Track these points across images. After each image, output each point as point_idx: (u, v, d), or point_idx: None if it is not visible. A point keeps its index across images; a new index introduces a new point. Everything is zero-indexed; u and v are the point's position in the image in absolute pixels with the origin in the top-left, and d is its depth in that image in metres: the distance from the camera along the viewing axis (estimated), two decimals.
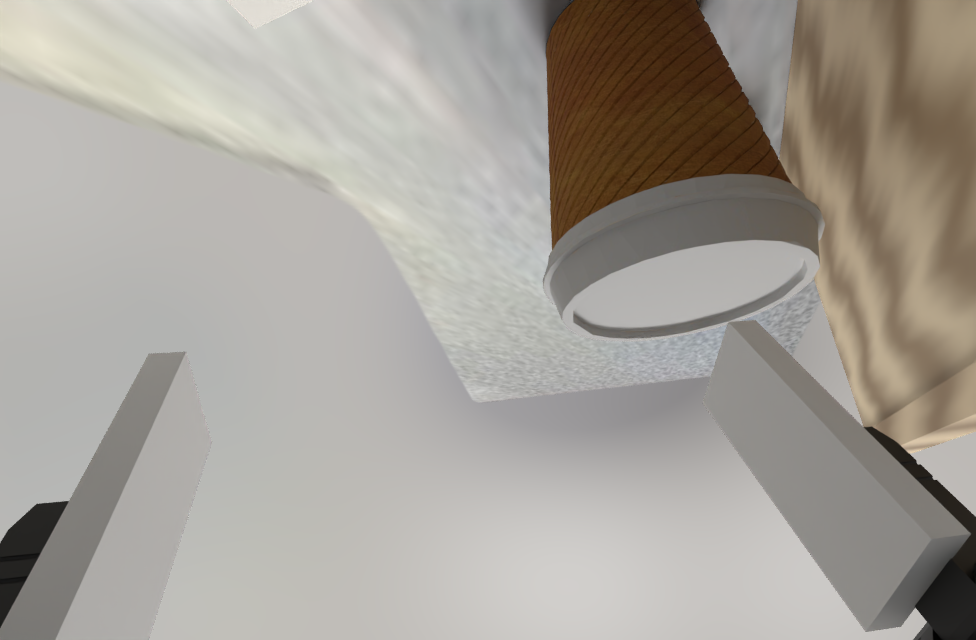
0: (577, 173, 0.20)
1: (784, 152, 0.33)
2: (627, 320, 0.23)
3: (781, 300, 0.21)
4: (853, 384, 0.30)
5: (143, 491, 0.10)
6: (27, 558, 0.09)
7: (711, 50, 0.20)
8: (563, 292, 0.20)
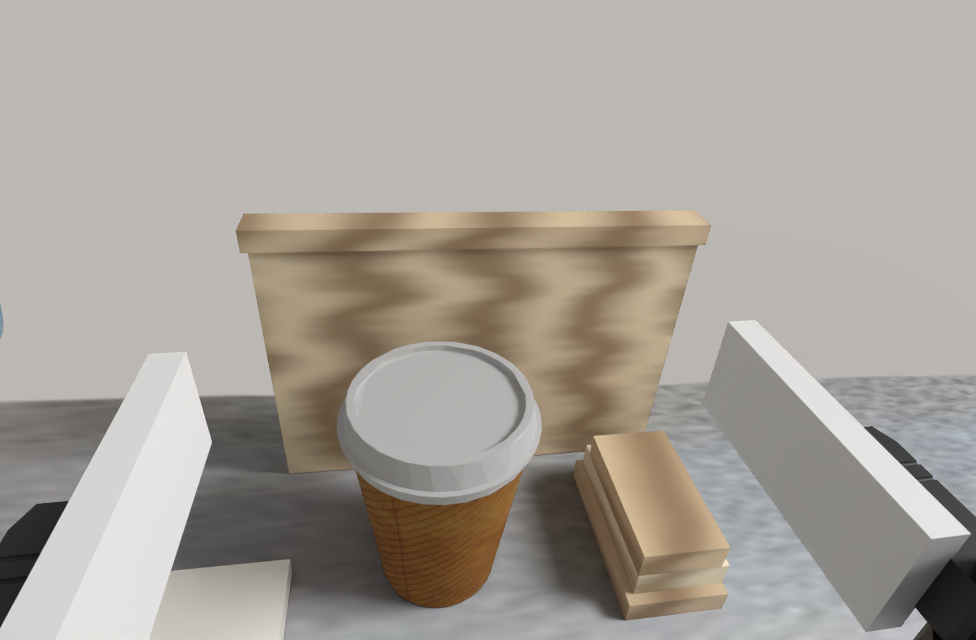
0: (371, 501, 0.27)
1: None
2: (487, 432, 0.25)
3: (483, 350, 0.30)
4: (674, 281, 0.34)
5: (142, 491, 0.10)
6: (27, 558, 0.09)
7: None
8: (391, 466, 0.24)
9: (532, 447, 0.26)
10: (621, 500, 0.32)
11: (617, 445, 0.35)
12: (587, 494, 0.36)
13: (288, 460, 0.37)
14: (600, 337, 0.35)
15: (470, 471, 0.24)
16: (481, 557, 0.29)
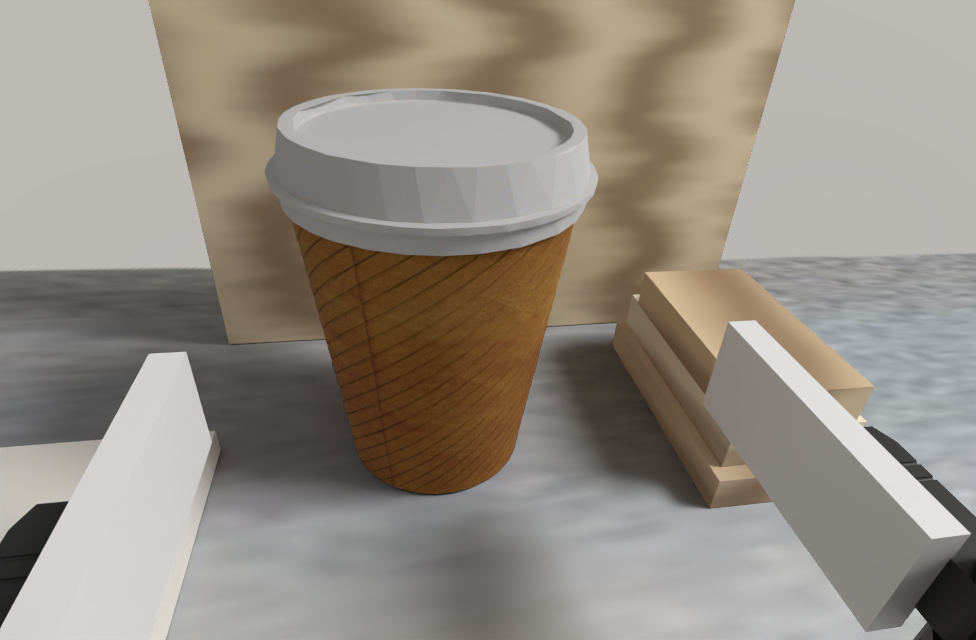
0: (324, 290, 0.16)
1: None
2: (513, 154, 0.15)
3: (499, 95, 0.20)
4: (765, 38, 0.24)
5: (143, 490, 0.10)
6: (27, 558, 0.09)
7: None
8: (348, 177, 0.13)
9: (587, 189, 0.16)
10: (697, 335, 0.21)
11: (680, 281, 0.25)
12: (636, 357, 0.26)
13: (226, 322, 0.27)
14: (659, 132, 0.25)
15: (488, 185, 0.13)
16: (503, 402, 0.19)
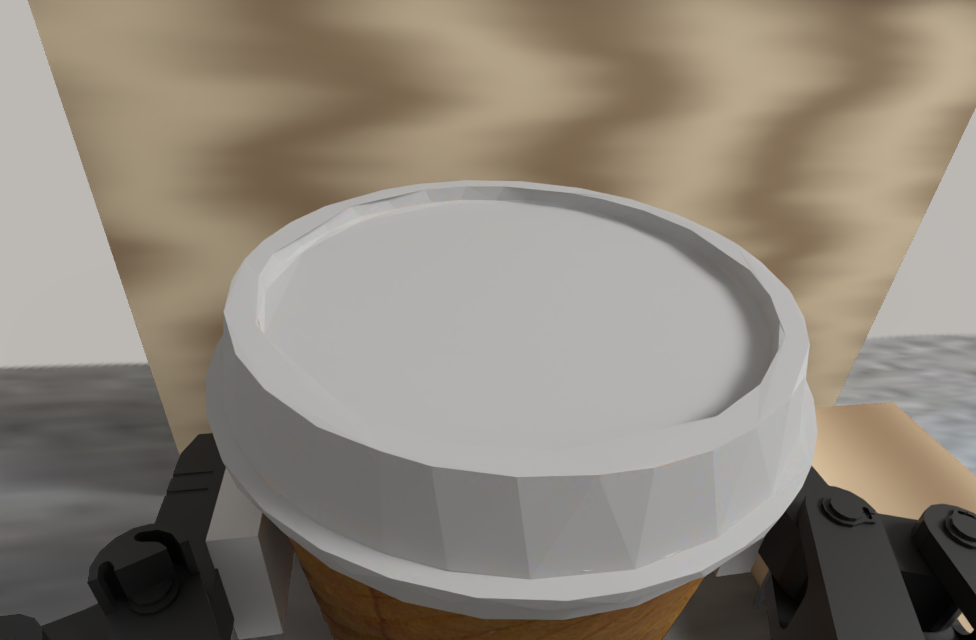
0: (315, 585, 0.09)
1: None
2: (678, 365, 0.08)
3: (597, 194, 0.12)
4: (959, 88, 0.17)
5: None
6: (203, 475, 0.11)
7: None
8: (364, 480, 0.06)
9: (804, 414, 0.09)
10: None
11: (817, 430, 0.18)
12: None
13: None
14: (793, 216, 0.18)
15: (672, 495, 0.06)
16: None
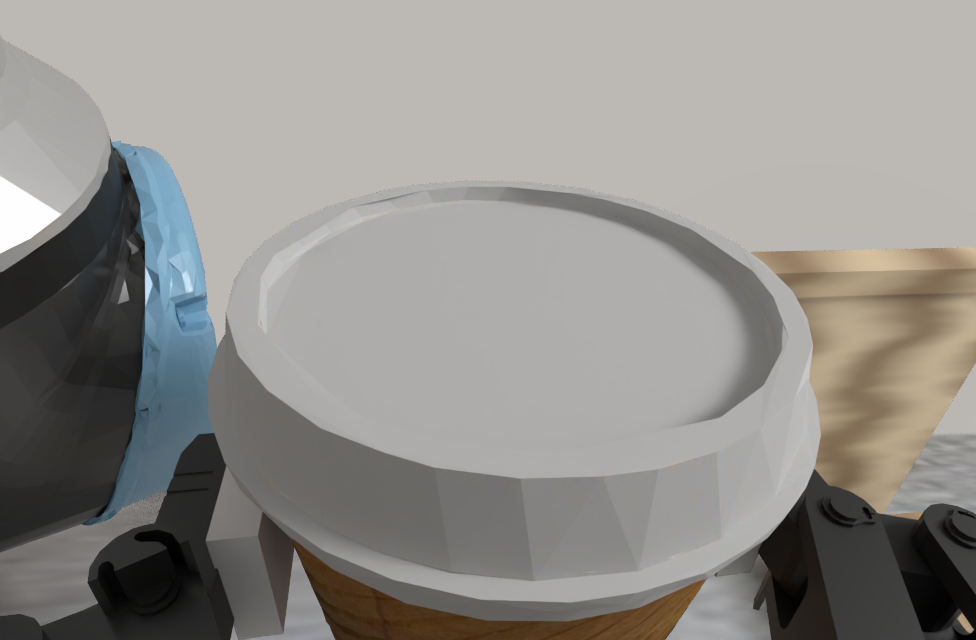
0: (317, 586, 0.09)
1: None
2: (680, 365, 0.08)
3: (599, 194, 0.12)
4: None
5: None
6: (203, 474, 0.11)
7: None
8: (367, 482, 0.06)
9: (807, 415, 0.08)
10: None
11: None
12: None
13: None
14: (873, 399, 0.29)
15: (676, 497, 0.06)
16: None
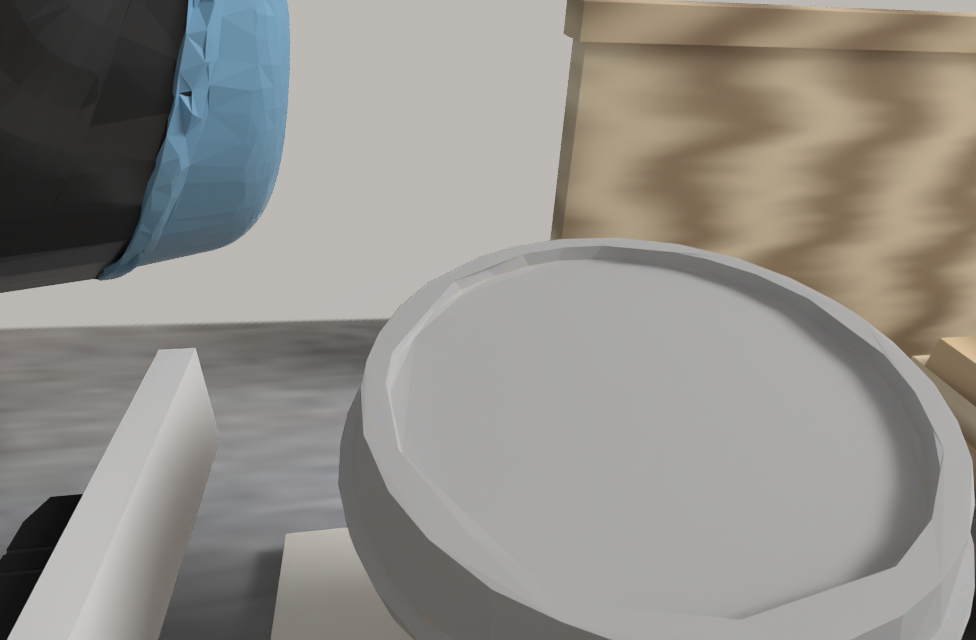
0: None
1: None
2: (830, 482, 0.08)
3: (700, 252, 0.12)
4: None
5: (154, 484, 0.10)
6: (42, 549, 0.09)
7: None
8: None
9: None
10: None
11: None
12: None
13: None
14: None
15: None
16: None
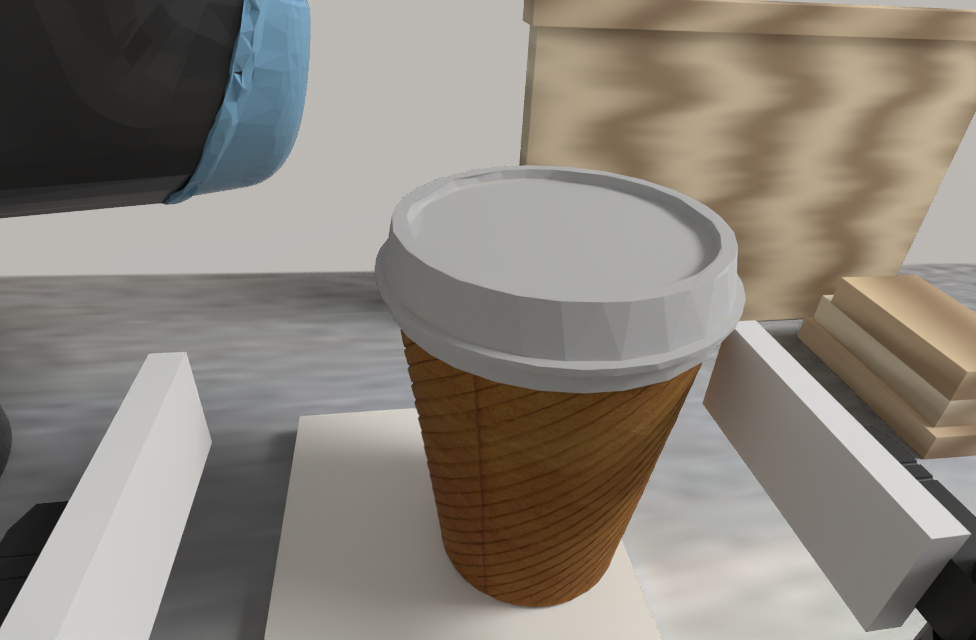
0: (433, 404, 0.15)
1: None
2: (656, 268, 0.13)
3: (618, 175, 0.18)
4: (970, 93, 0.30)
5: (143, 491, 0.10)
6: (27, 558, 0.09)
7: None
8: (481, 306, 0.12)
9: (736, 305, 0.14)
10: (908, 327, 0.28)
11: (873, 285, 0.31)
12: (831, 346, 0.32)
13: None
14: (875, 165, 0.32)
15: (641, 319, 0.12)
16: (616, 521, 0.17)
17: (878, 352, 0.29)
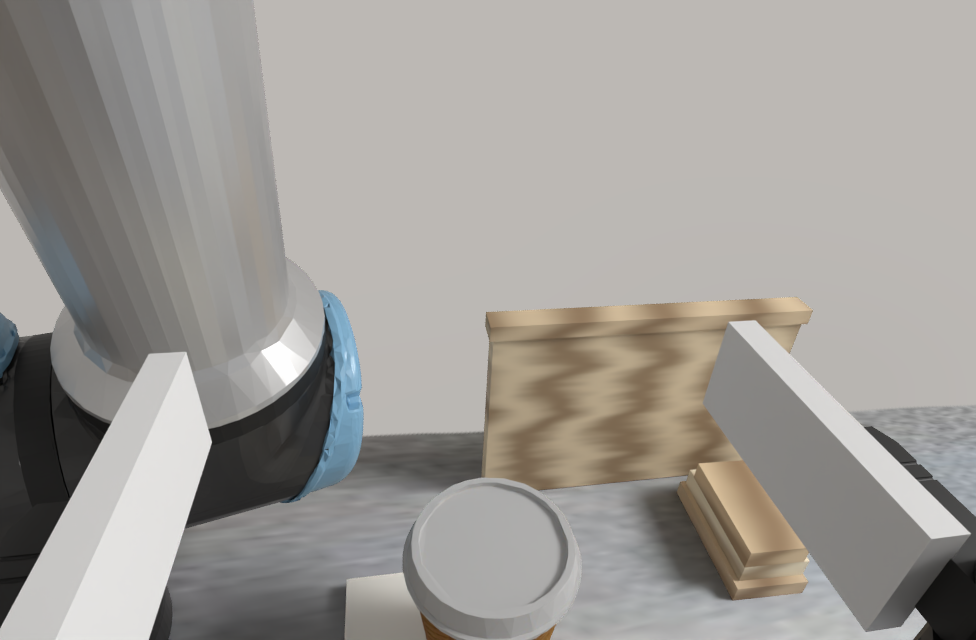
0: (430, 631, 0.30)
1: None
2: (533, 580, 0.29)
3: (530, 489, 0.33)
4: None
5: (143, 491, 0.10)
6: (27, 558, 0.09)
7: None
8: (451, 614, 0.27)
9: (573, 593, 0.29)
10: (727, 512, 0.43)
11: (718, 471, 0.47)
12: (693, 508, 0.48)
13: None
14: None
15: (519, 622, 0.27)
16: None
17: (715, 521, 0.45)
